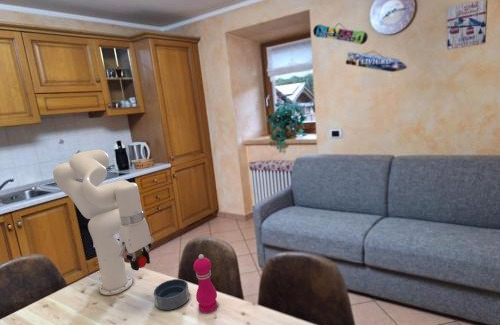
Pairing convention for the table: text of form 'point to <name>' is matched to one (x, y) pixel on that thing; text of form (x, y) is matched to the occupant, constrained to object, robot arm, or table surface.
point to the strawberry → (141, 260)
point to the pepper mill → (205, 285)
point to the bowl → (171, 294)
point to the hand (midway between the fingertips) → (141, 265)
